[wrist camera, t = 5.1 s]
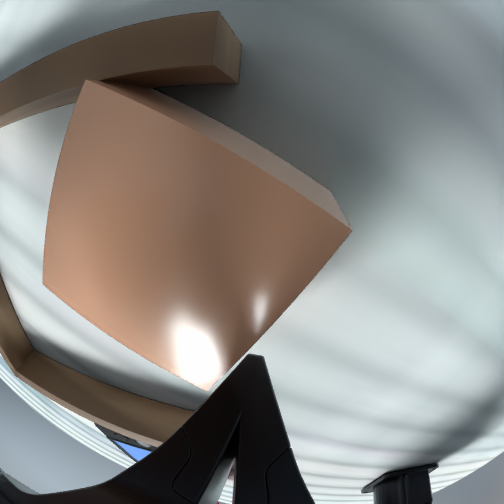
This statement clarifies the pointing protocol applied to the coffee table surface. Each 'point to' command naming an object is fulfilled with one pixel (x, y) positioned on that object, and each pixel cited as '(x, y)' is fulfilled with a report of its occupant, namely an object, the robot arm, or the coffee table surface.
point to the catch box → (67, 91)
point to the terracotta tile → (180, 230)
